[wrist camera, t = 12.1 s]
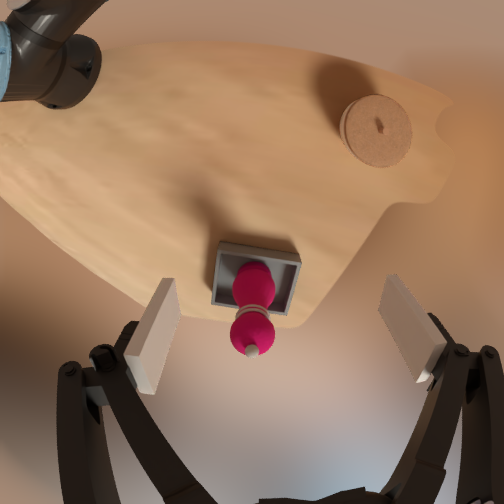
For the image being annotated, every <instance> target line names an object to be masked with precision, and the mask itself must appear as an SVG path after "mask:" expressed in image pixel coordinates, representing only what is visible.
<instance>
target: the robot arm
mask: <svg viewBox="0 0 504 504" xmlns="http://www.w3.org/2000/svg"><path fill="white" fill-rule="evenodd" d="M107 1H108V0H7V6H8V8H9V9H11V10H13V11H12V12H11V14H10V15H9V16H8V18H7V19H6V20H5V22H3V21H0V102H7V101H25V100H35V101H37V102H38V103H40V104H42V105H44V106H45V107H47V108H50V109H68V108H71V107H73V106H75V105H77V104H78V103H79V102H81V101H82V100H83V99H84V98H85V97H86V96H87V95H88V93H89V92H90V91H91V89H92V88H93V86H94V84H95V82H96V80H97V78H98V75H99V72H100V68H101V51H100V48H99V46H98V44H97V43H96V42H95V41H94V40H93V39H91V38H89V37H87V36H84V35H80V34H75V35H73V34H74V33H75V31H76V30H77V29H78V28H79V27H80V26H81V25H82V24H83V23H84V22H85V21H86V20H87V19H88V18H89V17H90V16H91V15H92V14H93V13H94V12H95V11H96V10H97V9H98V8H99V7H100V6H101V5H102V4H104V3H105V2H107ZM378 311H379V313H380V314H381V316H382V318H383V320H384V322H385V324H386V325H387V327H388V329H389V331H390V333H391V335H392V337H393V338H394V340H395V342H396V344H397V346H398V348H399V350H400V351H401V354H402V356H403V358H404V360H405V362H406V364H407V366H408V368H409V370H410V372H411V374H412V376H413V378H414V380H415V382H416V383H418V382H422V381H426V380H428V378H429V376H430V375H431V373H432V374H433V376H434V379H433V381H432V382H431V384H430V386H429V387H428V389H427V391H429V392H428V395H427V398H426V401H425V403H424V406H423V409H422V412H421V414H420V416H419V419H418V421H417V424H416V426H415V429H414V431H413V433H412V436H411V438H410V440H409V442H408V444H407V447H406V449H405V451H404V453H403V455H402V457H401V459H400V461H399V463H398V465H397V467H396V469H395V471H394V473H393V474H392V476H391V478H390V480H389V481H388V483H387V484H386V485H385V487H384V488H383V489H382V490H381V492H380V493H376V492H369V491H365V487H361V488H356V489H351V490H347V491H340V492H338V493H335V494H333V495H330V496H328V497H325V498H322V499H319V500H317V501H307V500H298V499H290V498H272V499H259V503H256V504H434V502H435V499H436V497H437V495H438V493H439V490H440V488H441V485H442V483H443V481H444V478H445V475H446V470H445V469H444V464H445V461H446V458H447V456H448V453H449V450H450V447H451V444H452V440H453V437H454V434H455V430H456V426H457V423H458V419H459V415H460V411H461V407H462V449H461V463H460V473H459V481H458V488H457V496H456V504H504V374H503V369H502V365H501V361H500V357H499V354H498V351H497V350H496V349H495V348H494V347H492V346H488V345H485V346H483V347H482V349H481V350H480V352H470V351H469V349H468V348H467V347H466V346H464V345H462V344H456V343H455V342H454V340H453V339H452V337H451V336H450V335H449V333H448V332H447V330H446V329H445V328H444V326H443V325H442V324H441V322H440V321H439V319H438V318H437V317H436V316H434V315H433V314H432V313H426V312H425V310H424V309H423V308H422V306H421V305H420V303H419V302H418V301H417V300H416V298H415V297H414V296H413V294H412V293H411V292H410V290H409V289H408V288H407V287H406V285H405V284H404V283H403V281H402V280H401V279H400V278H399V276H398V275H397V274H394V275H387V276H386V280H385V284H384V289H383V293H382V297H381V301H380V305H379V308H378ZM180 316H181V311H180V306H179V301H178V295H177V290H176V284H175V278H162V280H161V282H160V284H159V286H158V287H157V289H156V291H155V293H154V295H153V297H152V299H151V301H150V302H149V304H148V306H147V308H146V310H145V312H144V314H143V316H142V318H141V320H140V321H131V322H129V323H128V324H127V325H126V326H125V327H124V329H123V331H122V332H121V335H120V336H119V338H118V340H117V342H116V343H115V345H114V347H113V346H111V345H109V344H102V345H98V346H96V347H94V348H93V349H92V350H91V352H90V354H89V359H90V361H91V363H92V365H93V367H88V368H82V367H81V365H80V364H79V363H78V362H76V361H69V362H66V363H65V364H63V365H62V366H61V367H60V369H59V372H58V385H57V450H58V463H59V473H60V482H61V489H62V495H63V501H64V504H121V502H120V499H119V496H118V492H117V488H116V484H115V480H114V476H113V471H112V467H111V463H110V457H109V452H108V447H107V441H106V435H105V429H104V422H103V414H102V406H104V405H110V406H111V409H112V411H113V413H114V415H115V417H116V419H117V421H118V423H119V425H120V427H121V429H122V431H123V433H124V435H125V437H126V439H127V441H128V443H129V444H130V446H131V448H132V450H133V451H134V453H135V455H136V457H137V458H138V460H139V462H140V464H141V465H142V467H143V469H144V470H145V471H146V473H147V475H148V476H149V478H150V480H151V481H152V483H153V484H154V486H155V487H156V488H157V490H158V492H159V493H160V494H161V496H162V497H163V501H164V502H165V504H218V503H217V502H216V501H215V500H214V499H213V498H212V497H211V496H210V494H209V493H208V492H207V491H206V490H205V489H204V487H203V486H202V485H201V484H200V483H199V482H198V481H197V480H196V479H195V478H194V476H193V475H192V474H191V473H190V471H189V470H188V469H187V467H186V466H185V465H184V464H183V462H182V461H181V460H180V458H179V457H178V456H177V454H176V453H175V451H174V450H173V449H172V447H171V446H170V444H169V443H168V442H167V440H166V439H165V437H164V436H163V434H162V433H161V431H160V430H159V428H158V427H157V425H156V424H155V422H154V420H153V419H152V417H151V416H150V414H149V412H148V411H147V409H146V407H145V406H144V404H143V403H142V401H141V399H140V397H139V396H138V394H137V392H136V388H137V387H138V389H139V391H140V393H145V394H152V395H154V394H155V392H156V388H157V386H158V382H159V379H160V376H161V373H162V370H163V366H164V364H165V360H166V357H167V354H168V351H169V348H170V345H171V342H172V339H173V337H174V334H175V331H176V328H177V325H178V322H179V319H180Z"/></svg>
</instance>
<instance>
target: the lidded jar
mask: <svg viewBox="0 0 504 504" xmlns="http://www.w3.org/2000/svg"><path fill="white" fill-rule="evenodd" d="M339 127H340V136H341V139H342V141H343V144H344V145H345V147H346V148H347V150H348V151H349V152H350V153H351V154H352V155H353V156H354V157H356V158H357V159H359V160H360V161H362V162H364V163H365V164H368V165H370V166H373V167H377V168H386V167H390V166H393V165H395V164H397V163H399V162H400V161H401V160H402V159H403V158H404V157H405V156H406V154H407V153H408V151H409V149H410V145H411V141H412V127H411V123H410V120H409V118H408V115H407V114H406V112H405V111H404V109H403V108H402V107H401V106H400V105H399V104H398V103H397V102H396V101H394V100H393V99H391V98H389V97H387V96H383V95H378V94H374V95H367V96H364V97H362V98H360V99H358V100H356V101H354V102H353V103H351V104H350V105H349V106H348V107H347V108H346V109H345V111H344V112H343V114H342V116H341V120H340V126H339Z"/></svg>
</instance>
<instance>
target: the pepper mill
mask: <svg viewBox="0 0 504 504" xmlns="http://www.w3.org/2000/svg"><path fill="white" fill-rule="evenodd" d="M275 289H276V288H275V283H274V280H273V279H272V275H271V271H270V269H269V268H268V267H267V266H266V265H265V264H263V263H260V262H255V261H253V262H248V263H245V264H244V265H242V266H241V267H240V268H239V270H238V272H237V277H236V278H235V280H234V282H233V286H232V293H233V297H234V300H235V302H236V303H237V305H238V306H239V310H238V312H237V313H236V317H235V321H234V322H233V324H232V326H231V330H230V339H231V342H232V344H233V346H234V347H235V349H237V350H238V351H239V352H240V353H242V354H244V355H246V356H247V357H249V358H255V357H257V356H258V355H260V354H263V353H265V352H266V351H267V350H269V348H270V347H271V346H272V344H273V342H274V338H275V330H274V326H273V324H272V323H271V320H270V319H271V318H270V314H269V312H268V311H267V308H268V306H269V305H270V304H271V303H272V301H273V299H274V296H275Z"/></svg>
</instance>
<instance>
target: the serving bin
mask: <svg viewBox="0 0 504 504" xmlns="http://www.w3.org/2000/svg"><path fill="white" fill-rule="evenodd" d="M253 261H255V262H260V263H263V264H265V265H266V266H267V267H268V268H269V269H270V271H271V275H272V279H273V280H274V283H275V288H276V289H275V296H274V299H273V301H272V303H271V304H270V305H269V306H268V308H267V311H268V312H269V313H271V314H279V315H286V316H287V314H288V310H289V307H290V303H291V300H292V296H293V293H294V289H295V286H296V282H297V279H298V275H299V271H300V268H301V264H302V262H301V259H300V255H299V254H296V253H290V252H284V251H278V250H272V249H265V248H259V247H253V246H247V245H241V244H235V243H229V242H222V241H220V243H219V247H218V250H217V258H216V266H215V274H214V283H213V291H212V300H211V304H212V305H218V306H224V307H231V308H237V309H239V306H238V305H237V303H236V302H235V300H234V297H233V293H232V286H233V282H234V280H235V278H236V277H237V272H238V270H239V268H240V267H241V266H242V265H244V264H245V263H248V262H253Z"/></svg>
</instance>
